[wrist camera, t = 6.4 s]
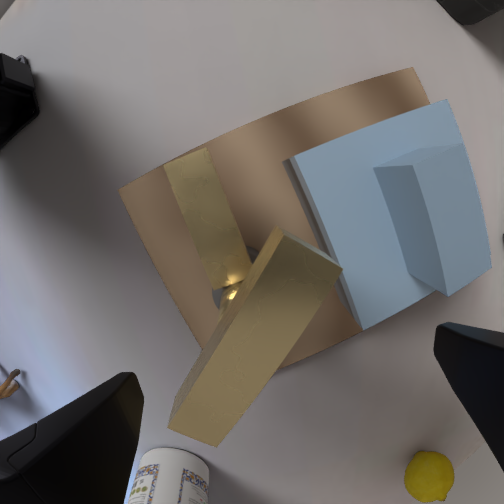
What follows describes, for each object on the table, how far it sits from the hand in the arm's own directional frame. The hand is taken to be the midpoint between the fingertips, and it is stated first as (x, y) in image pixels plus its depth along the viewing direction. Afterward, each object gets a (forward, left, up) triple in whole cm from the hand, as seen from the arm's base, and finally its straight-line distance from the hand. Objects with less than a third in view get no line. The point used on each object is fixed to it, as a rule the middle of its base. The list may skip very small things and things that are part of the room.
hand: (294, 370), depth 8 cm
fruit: (+7, -29, -13) cm, 32 cm away
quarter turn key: (-1, +2, -7) cm, 8 cm away
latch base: (+5, 0, -13) cm, 14 cm away
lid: (+9, 0, -9) cm, 13 cm away
